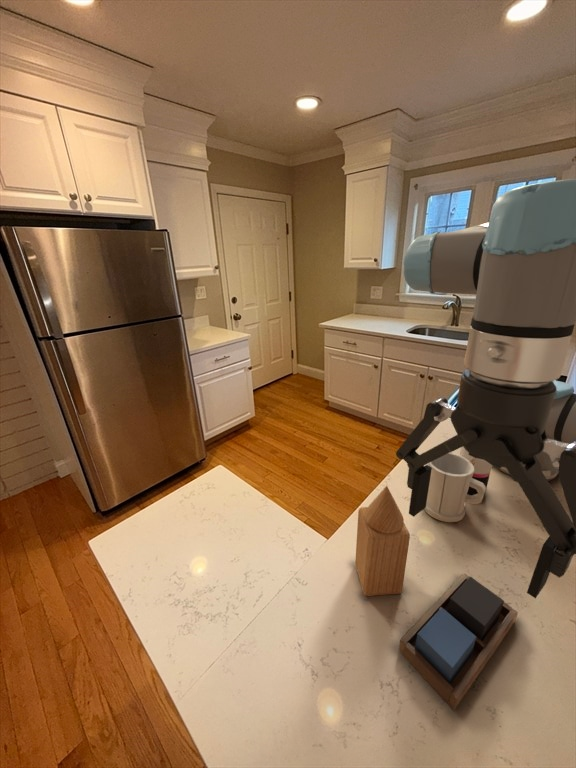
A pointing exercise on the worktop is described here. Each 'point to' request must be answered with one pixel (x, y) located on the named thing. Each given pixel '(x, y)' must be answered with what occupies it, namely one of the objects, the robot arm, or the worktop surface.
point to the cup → (451, 488)
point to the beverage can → (477, 470)
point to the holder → (475, 662)
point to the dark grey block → (475, 607)
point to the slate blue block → (445, 644)
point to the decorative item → (381, 546)
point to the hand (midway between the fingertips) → (468, 544)
